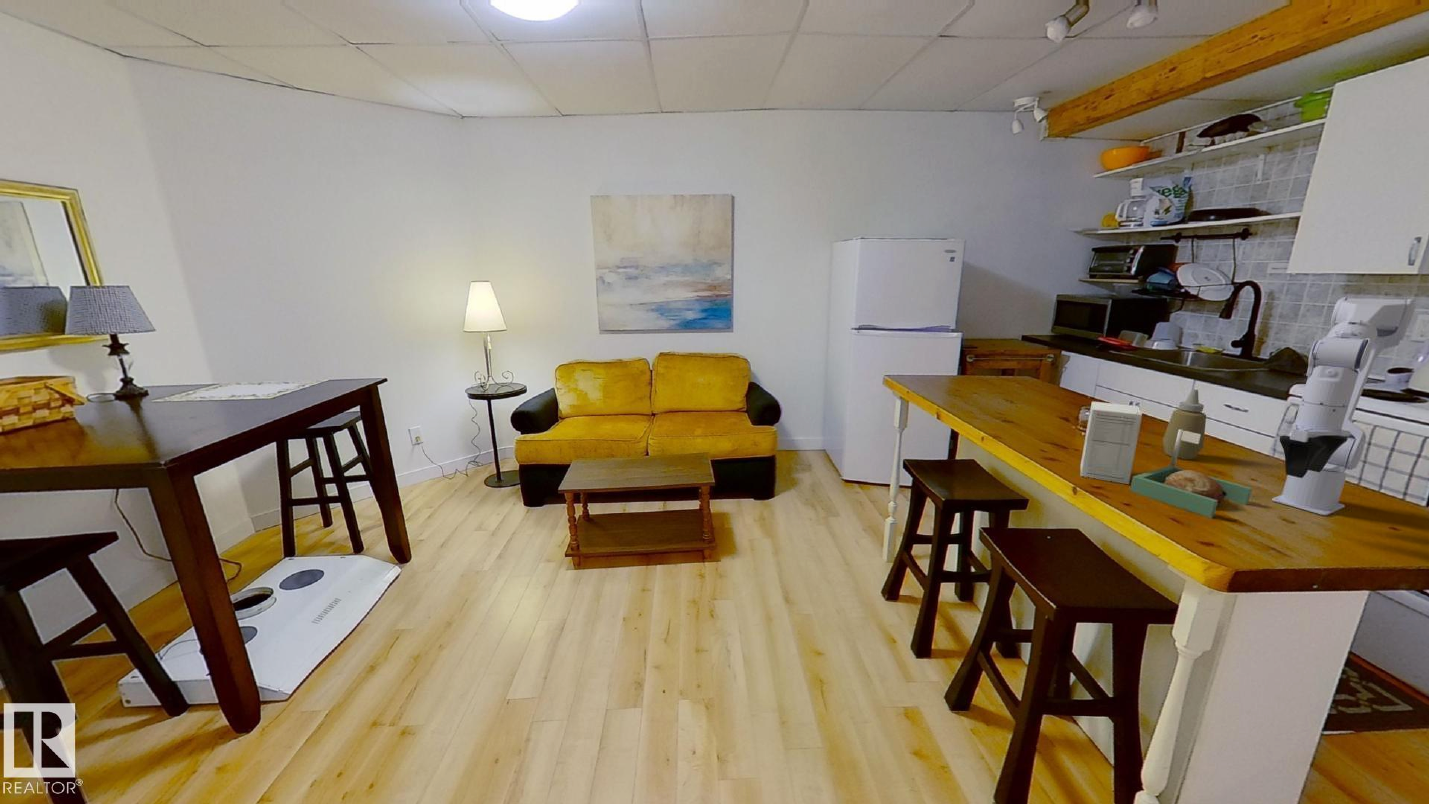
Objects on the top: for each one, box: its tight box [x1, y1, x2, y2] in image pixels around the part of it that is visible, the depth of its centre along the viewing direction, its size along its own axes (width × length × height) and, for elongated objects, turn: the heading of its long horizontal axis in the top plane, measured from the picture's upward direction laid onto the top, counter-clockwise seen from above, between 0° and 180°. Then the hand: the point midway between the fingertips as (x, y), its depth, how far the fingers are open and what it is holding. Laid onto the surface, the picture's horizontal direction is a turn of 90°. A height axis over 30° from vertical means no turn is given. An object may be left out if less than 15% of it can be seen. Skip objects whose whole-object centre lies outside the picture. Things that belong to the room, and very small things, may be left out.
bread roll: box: [1164, 469, 1227, 508], centre depth 111 cm, size 10×10×8 cm
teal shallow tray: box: [1129, 429, 1253, 519], centre depth 110 cm, size 15×14×12 cm
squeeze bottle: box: [1162, 388, 1207, 460], centre depth 134 cm, size 8×8×18 cm
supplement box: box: [1079, 401, 1143, 485], centre depth 122 cm, size 10×9×17 cm
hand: (1303, 473), depth 98 cm, fingers open, 7 cm apart
